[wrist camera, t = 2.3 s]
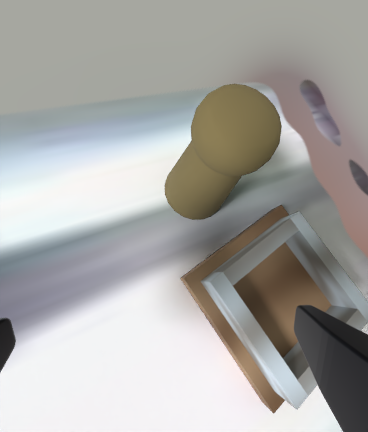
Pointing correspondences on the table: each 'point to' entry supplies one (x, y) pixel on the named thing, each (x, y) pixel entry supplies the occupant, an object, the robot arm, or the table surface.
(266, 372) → the socket board
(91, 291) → the table surface
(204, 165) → the olive brown knob
